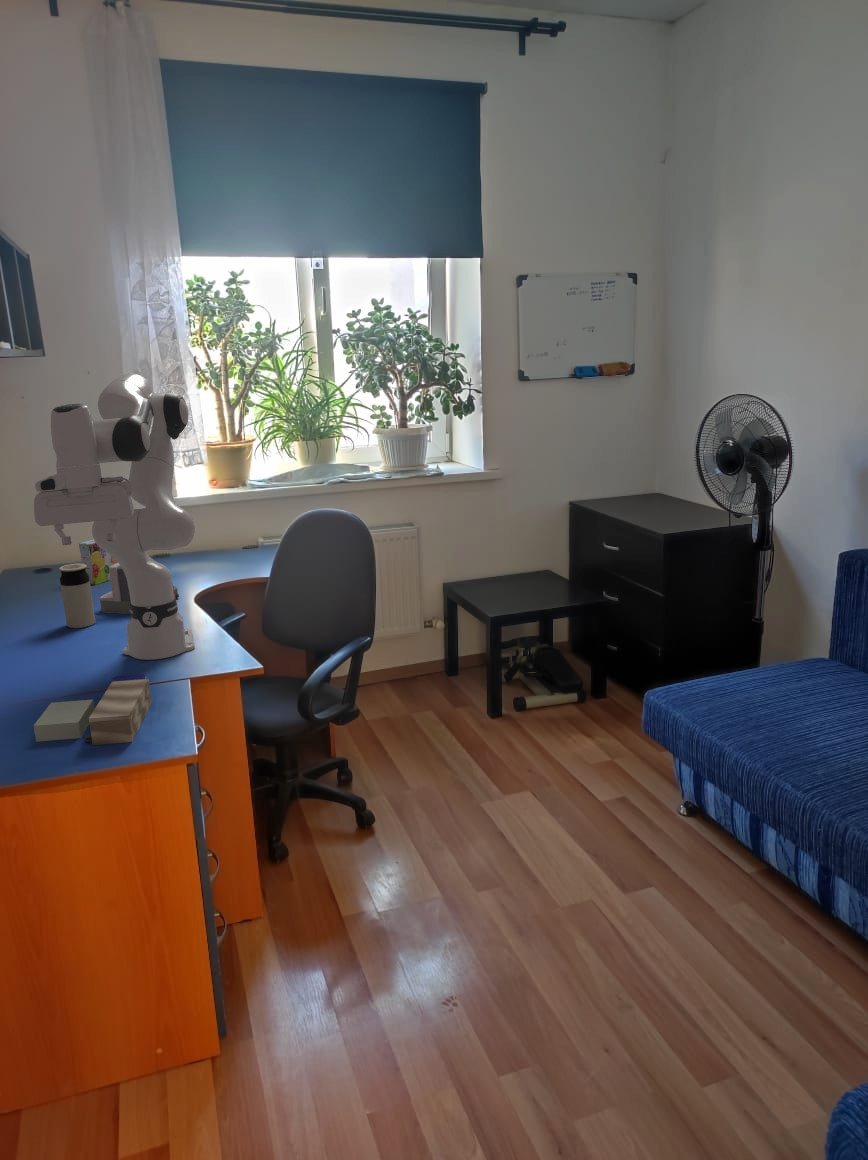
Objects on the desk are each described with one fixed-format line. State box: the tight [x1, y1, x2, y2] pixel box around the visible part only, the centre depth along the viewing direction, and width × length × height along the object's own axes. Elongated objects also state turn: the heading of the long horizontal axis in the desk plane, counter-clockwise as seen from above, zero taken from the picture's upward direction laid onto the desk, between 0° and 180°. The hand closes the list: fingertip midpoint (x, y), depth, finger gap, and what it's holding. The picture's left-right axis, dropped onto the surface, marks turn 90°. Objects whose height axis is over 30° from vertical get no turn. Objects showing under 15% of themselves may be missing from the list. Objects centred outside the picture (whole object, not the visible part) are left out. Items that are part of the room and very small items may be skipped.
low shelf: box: [85, 678, 152, 746], centre depth 184 cm, size 20×10×6 cm, turn 7°
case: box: [33, 699, 95, 743], centre depth 183 cm, size 12×9×4 cm
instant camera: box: [99, 563, 180, 614], centre depth 271 cm, size 21×21×15 cm
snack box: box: [78, 538, 118, 586], centre depth 305 cm, size 21×6×15 cm, turn 154°
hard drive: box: [107, 672, 147, 689], centre depth 205 cm, size 2×8×12 cm
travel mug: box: [58, 563, 96, 629], centre depth 251 cm, size 8×8×18 cm
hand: (89, 542), depth 186 cm, fingers open, 8 cm apart
